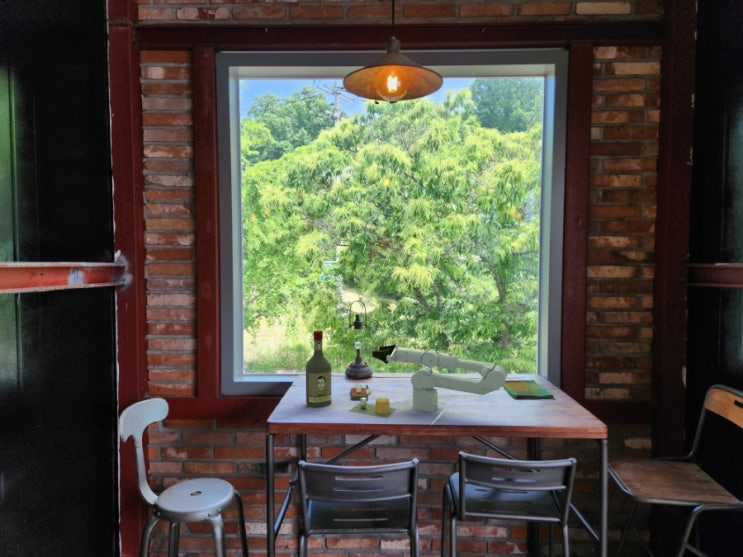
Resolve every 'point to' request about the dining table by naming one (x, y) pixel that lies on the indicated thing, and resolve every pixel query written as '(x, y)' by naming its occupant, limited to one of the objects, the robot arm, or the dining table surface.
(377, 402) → the cap
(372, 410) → the board
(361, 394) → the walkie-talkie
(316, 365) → the liquor
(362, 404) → the post
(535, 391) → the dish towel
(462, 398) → the dining table surface
